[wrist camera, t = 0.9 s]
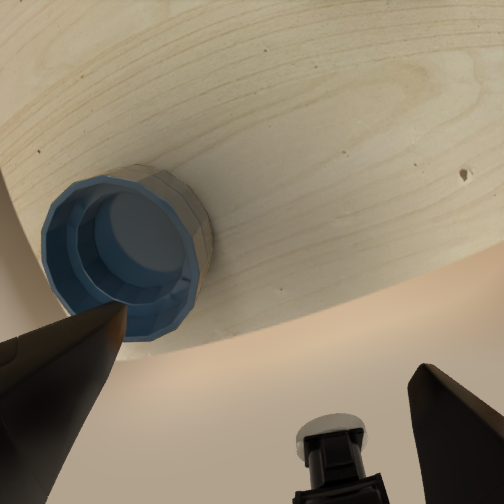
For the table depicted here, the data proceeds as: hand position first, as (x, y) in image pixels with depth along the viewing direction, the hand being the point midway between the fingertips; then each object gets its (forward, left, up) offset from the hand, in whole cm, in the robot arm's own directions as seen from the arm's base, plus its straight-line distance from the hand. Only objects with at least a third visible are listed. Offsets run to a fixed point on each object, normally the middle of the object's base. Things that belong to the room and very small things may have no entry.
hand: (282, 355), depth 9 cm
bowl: (+1, +8, -12) cm, 14 cm away
